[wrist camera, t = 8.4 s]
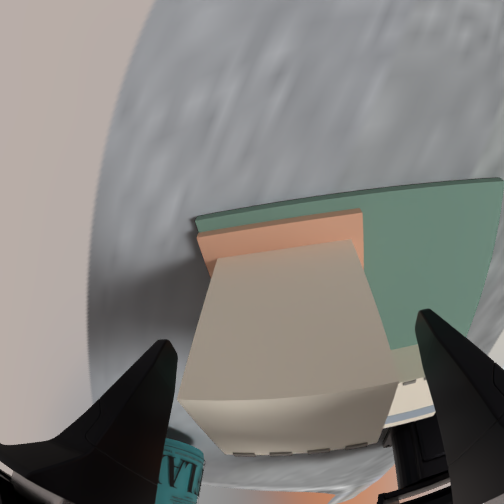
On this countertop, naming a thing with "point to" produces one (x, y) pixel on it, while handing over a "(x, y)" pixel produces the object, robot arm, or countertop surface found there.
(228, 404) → the stub
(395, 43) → the countertop surface
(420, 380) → the spiral notebook
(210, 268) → the coaster
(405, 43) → the countertop surface
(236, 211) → the mat
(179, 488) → the beverage bottle
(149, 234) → the countertop surface
